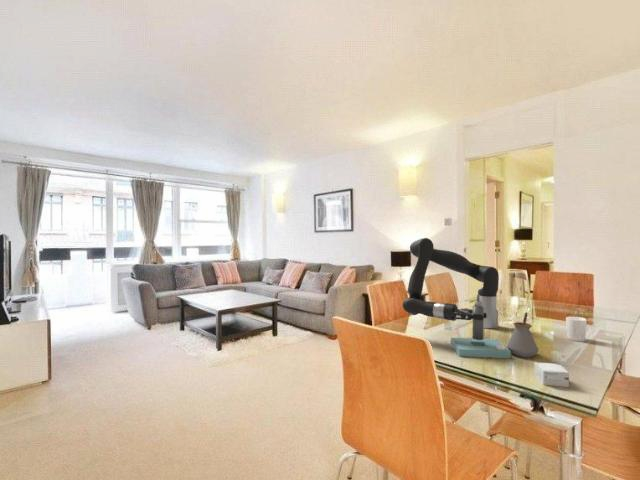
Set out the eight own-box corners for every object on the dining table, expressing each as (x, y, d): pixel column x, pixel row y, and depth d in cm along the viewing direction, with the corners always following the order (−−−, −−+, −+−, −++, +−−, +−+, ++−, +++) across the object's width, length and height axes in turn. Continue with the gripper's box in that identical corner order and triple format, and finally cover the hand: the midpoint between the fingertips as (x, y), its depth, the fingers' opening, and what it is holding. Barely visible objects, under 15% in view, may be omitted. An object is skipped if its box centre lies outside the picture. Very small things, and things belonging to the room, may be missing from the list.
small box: (543, 385, 113) (542, 370, 113) (534, 376, 121) (534, 361, 121) (569, 387, 111) (569, 372, 111) (558, 377, 119) (558, 363, 119)
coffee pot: (537, 361, 134) (536, 324, 134) (504, 355, 141) (504, 320, 141) (541, 346, 151) (541, 313, 151) (512, 342, 158) (512, 310, 158)
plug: (481, 337, 149) (481, 293, 149) (484, 340, 145) (485, 295, 144) (471, 336, 150) (471, 293, 149) (474, 339, 145) (474, 295, 145)
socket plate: (496, 345, 153) (496, 336, 153) (510, 358, 138) (510, 348, 138) (450, 343, 157) (450, 335, 157) (459, 356, 141) (459, 346, 141)
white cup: (582, 337, 163) (582, 317, 163) (589, 342, 155) (589, 321, 155) (563, 336, 165) (563, 316, 165) (569, 341, 158) (569, 320, 158)
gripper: (439, 305, 151) (480, 311, 140) (450, 300, 162) (489, 305, 151) (439, 322, 151) (480, 329, 140) (450, 316, 162) (489, 322, 151)
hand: (484, 316), depth 145 cm, fingers closed on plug, 4 cm apart
